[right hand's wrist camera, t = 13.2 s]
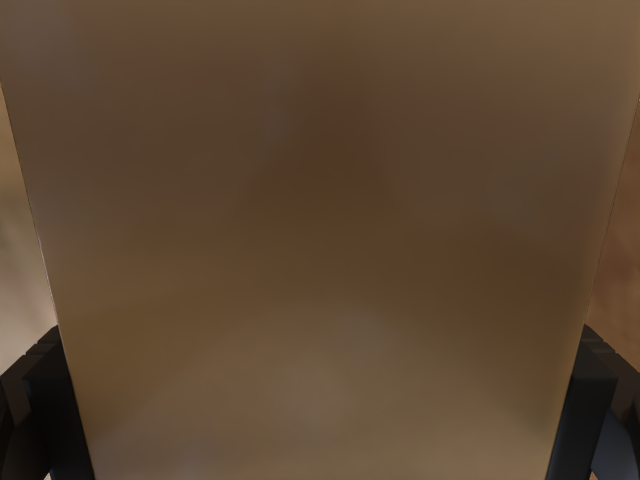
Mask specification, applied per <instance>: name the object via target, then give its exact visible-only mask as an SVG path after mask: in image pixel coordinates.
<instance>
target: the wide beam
mask: <svg viewBox="0 0 640 480" xmlns="http://www.w3.org/2000/svg"><path fill="white" fill-rule="evenodd" d="M0 82H1V86H2V90H3V95H4V99H5V103H6V107H7V112H8V116H9V120H10V124H11V128H12V133H13V137H14V141H15V145H16V150H17V154H18V158H19V162H20V166H21V171H22V175H23V179H24V183H25V187H26V192H27V196H28V200H29V204H30V209H31V213H32V217H33V221H34V225H35V230H36V234H37V238H38V242H39V247H40V251H41V255H42V259H43V263H44V268H45V272H46V276H47V280H48V285H49V289H50V293H51V297H52V301H53V306H54V310H55V314H56V318H57V323H58V327H59V331H60V335H61V339H62V344H63V348H64V352H65V356H66V361H67V365H68V369H69V373H70V377H71V382H72V386H73V390H74V394H75V398H76V403H77V407H78V411H79V415H80V420H81V424H82V428H83V432H84V436H85V441H86V445H87V449H88V453H89V458H90V462H91V466H92V470H93V474H94V479H95V480H546V476H547V472H548V468H549V464H550V460H551V456H552V452H553V448H554V443H555V439H556V435H557V431H558V427H559V423H560V419H561V415H562V410H563V406H564V402H565V398H566V394H567V390H568V386H569V382H570V377H571V374H572V370H573V366H574V362H575V358H576V354H577V350H578V346H579V342H580V338H581V334H582V330H583V325H584V321H585V317H586V313H587V309H588V305H589V301H590V297H591V293H592V289H593V285H594V281H595V277H596V273H597V268H598V264H599V260H600V256H601V252H602V248H603V244H604V240H605V236H606V232H607V228H608V224H609V220H610V215H611V211H612V207H613V203H614V199H615V195H616V191H617V187H618V183H619V179H620V175H621V171H622V167H623V163H624V158H625V154H626V150H627V146H628V142H629V138H630V134H631V130H632V126H633V122H634V118H635V114H636V110H637V105H638V101H639V97H640V0H0Z"/></svg>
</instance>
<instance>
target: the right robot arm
mask: <svg viewBox="0 0 640 480" xmlns="http://www.w3.org/2000/svg"><path fill="white" fill-rule="evenodd" d="M592 471H593V473H594V474H595V476H596V477H597V478H598V480H640V373H639V372H638V371H636V370H635V369H634V368H633V367H632V366H631V365H630V364H629V363H628V362H627V361H626V360H625V359H624V358H622V357H621V356H620V355H619V354H616V353H615V350H614V349H613V348H612V347H611V346H609V345H608V344H607V343H606V342H603V339H602V338H601V337H600V336H599V335H598V334H597V333H595V332H594V331H593V330H592V329H591V328H590V327H589V326H587V325H585V324H584V325H583V330H582V334H581V338H580V342H579V346H578V350H577V354H576V358H575V362H574V366H573V370H572V374H571V377H570V382H569V386H568V390H567V394H566V398H565V402H564V406H563V410H562V415H561V419H560V423H559V427H558V431H557V435H556V439H555V443H554V448H553V452H552V456H551V460H550V464H549V468H548V472H547V476H546V480H589V478H590V475H591V472H592ZM48 473H50V477H51V480H95V479H94V474H93V470H92V466H91V462H90V458H89V453H88V449H87V445H86V441H85V436H84V432H83V428H82V424H81V420H80V415H79V411H78V407H77V403H76V398H75V394H74V390H73V386H72V382H71V377H70V373H69V369H68V365H67V361H66V356H65V352H64V348H63V344H62V339H61V335H60V331H59V327H58V325H56V326H55V327H53V328H51V329H50V330H49V331H48V332H47V333H46V334H45V335H44V336H43V337H42V338H41V339H39V340H38V343H37V344H34V345H33V346H32V347H31V348H30V349H29V350H28V351H27V352H26V355H22V356H21V357H20V358H19V359H18V360H17V361H16V362H15V363H14V364H13V365H12V366H11V367H10V368H8V369H7V370H6V371H5V372H4V373H3V374H2V375H1V376H0V480H44V478H45V477H46V476H47V474H48Z"/></svg>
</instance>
